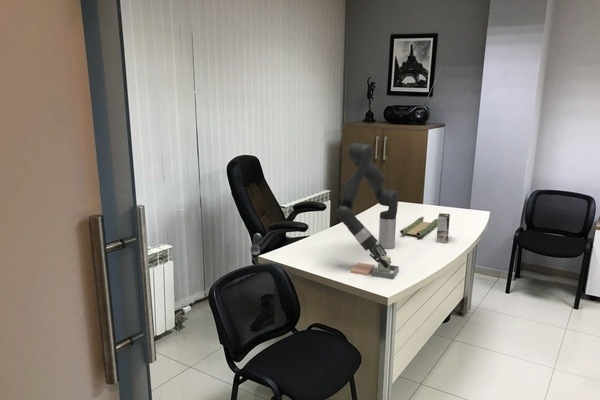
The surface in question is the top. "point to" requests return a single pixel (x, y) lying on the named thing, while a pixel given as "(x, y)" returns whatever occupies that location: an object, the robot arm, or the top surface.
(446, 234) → the coffee box
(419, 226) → the stretcher
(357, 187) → the robot arm
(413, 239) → the top surface
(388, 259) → the sage block
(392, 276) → the charcoal channel
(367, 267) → the terracotta tile
